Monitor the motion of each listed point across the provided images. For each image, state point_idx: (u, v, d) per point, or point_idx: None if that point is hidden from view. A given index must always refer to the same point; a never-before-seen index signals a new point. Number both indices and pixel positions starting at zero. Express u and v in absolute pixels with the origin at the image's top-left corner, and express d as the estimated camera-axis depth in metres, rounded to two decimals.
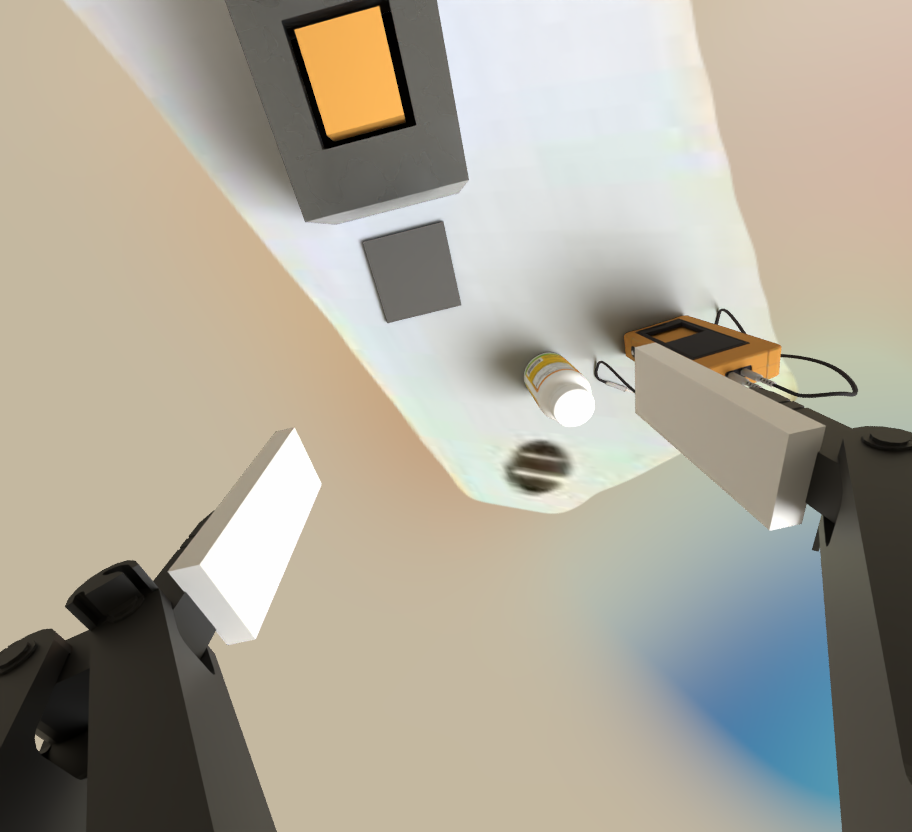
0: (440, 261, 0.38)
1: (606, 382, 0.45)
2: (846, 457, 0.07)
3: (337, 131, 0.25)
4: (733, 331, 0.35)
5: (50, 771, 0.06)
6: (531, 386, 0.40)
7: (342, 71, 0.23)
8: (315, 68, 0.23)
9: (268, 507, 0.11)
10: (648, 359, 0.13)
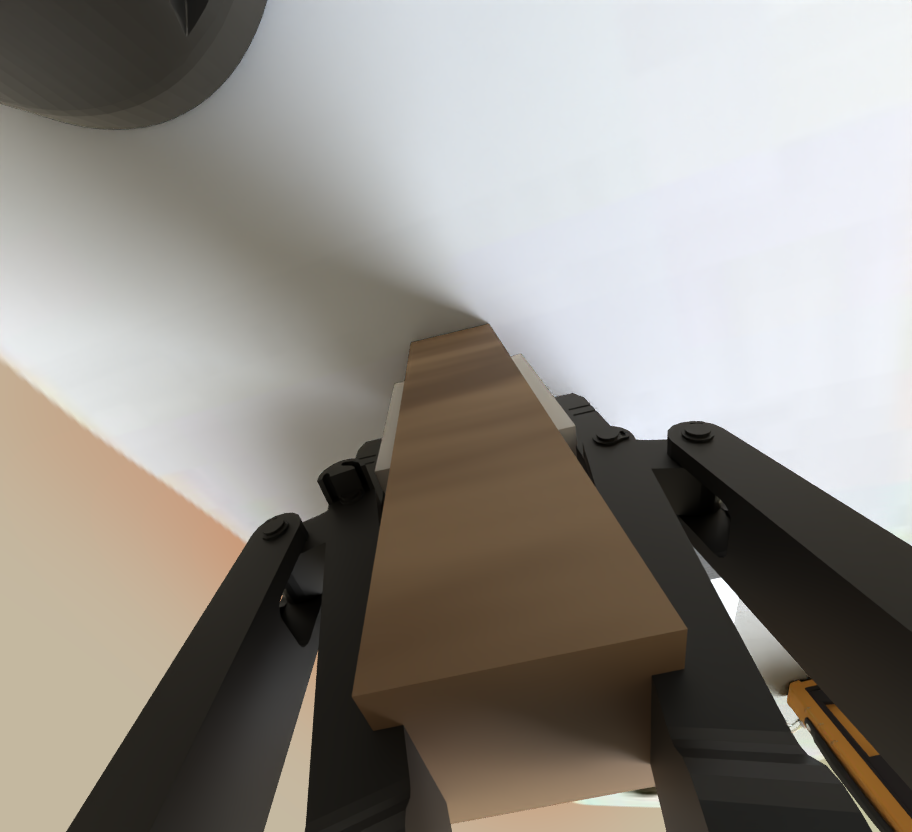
0: None
1: None
2: (586, 457, 0.09)
3: None
4: None
5: (285, 634, 0.08)
6: None
7: None
8: None
9: None
10: None
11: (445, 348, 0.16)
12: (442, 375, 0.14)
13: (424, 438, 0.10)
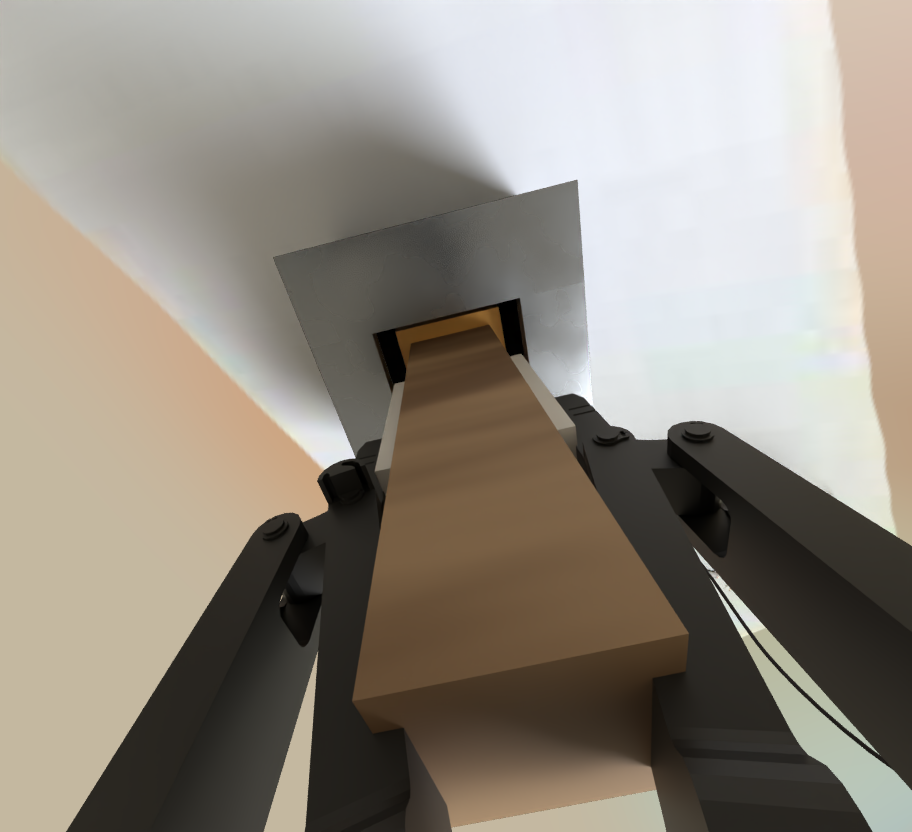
0: None
1: None
2: (587, 457, 0.09)
3: None
4: None
5: (286, 634, 0.08)
6: None
7: None
8: None
9: None
10: None
11: (446, 349, 0.16)
12: (442, 376, 0.14)
13: (424, 440, 0.10)
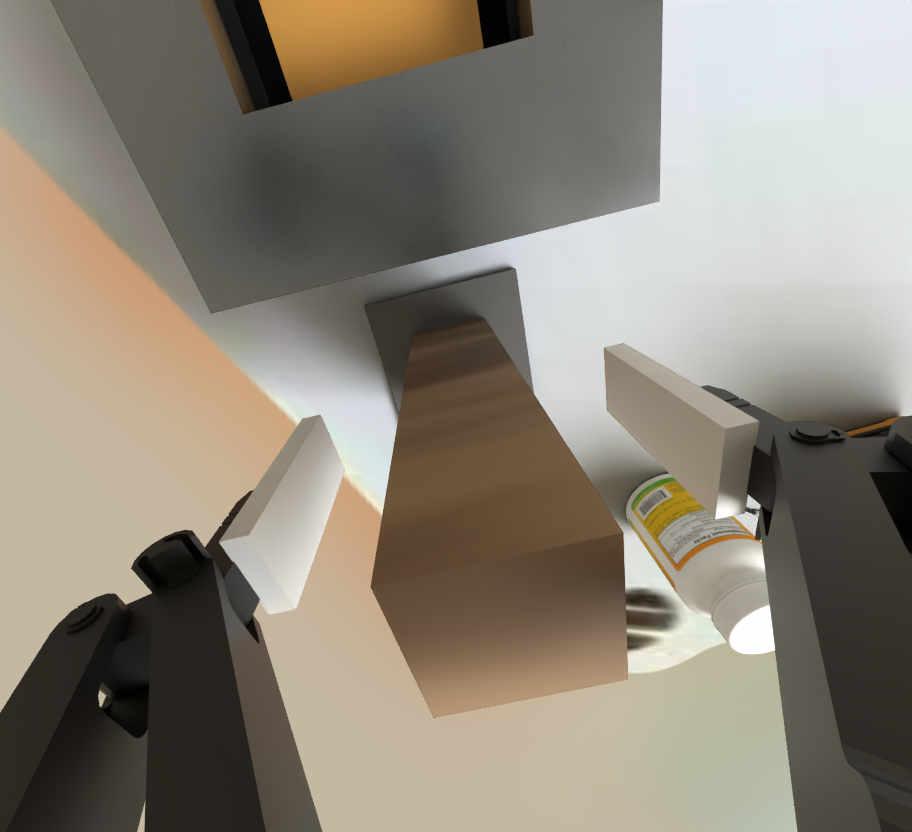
0: (505, 338, 0.21)
1: (755, 513, 0.28)
2: (777, 451, 0.08)
3: (318, 93, 0.10)
4: None
5: (111, 729, 0.07)
6: (654, 543, 0.23)
7: None
8: None
9: (302, 488, 0.12)
10: (615, 359, 0.13)
11: (444, 340, 0.18)
12: (441, 362, 0.15)
13: (425, 413, 0.11)
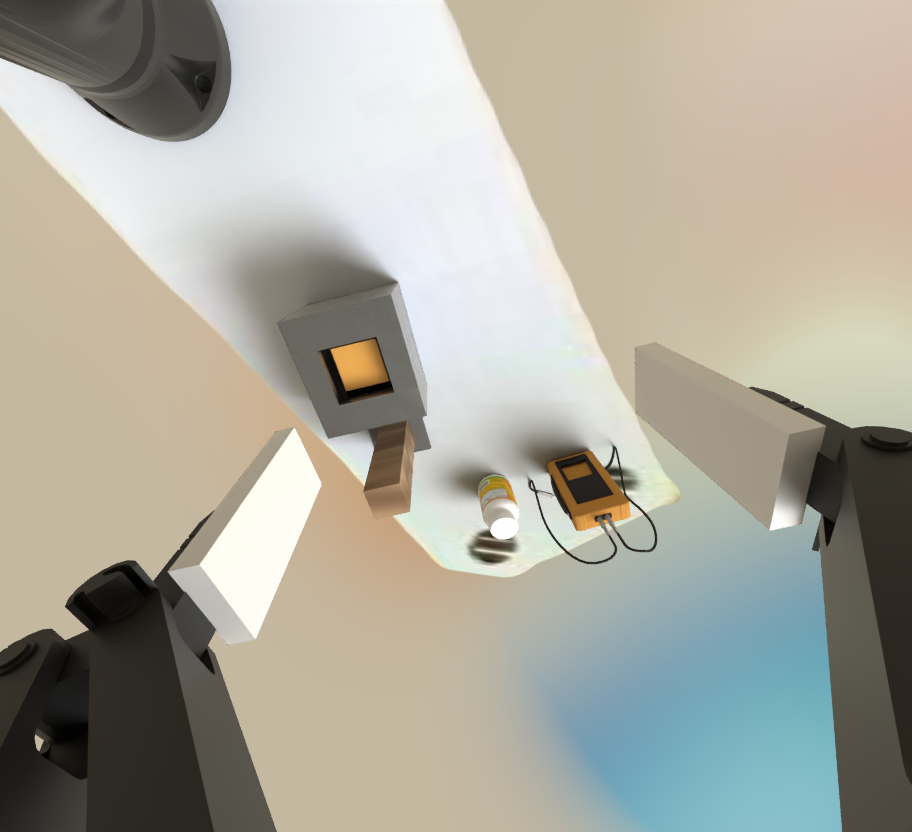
0: (415, 423, 0.55)
1: (537, 492, 0.62)
2: (846, 457, 0.07)
3: (352, 389, 0.44)
4: (609, 478, 0.52)
5: (50, 772, 0.06)
6: (480, 502, 0.58)
7: (355, 364, 0.43)
8: (340, 364, 0.43)
9: (268, 507, 0.11)
10: (648, 359, 0.13)
11: (390, 428, 0.52)
12: (386, 440, 0.49)
13: (377, 460, 0.45)
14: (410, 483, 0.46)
